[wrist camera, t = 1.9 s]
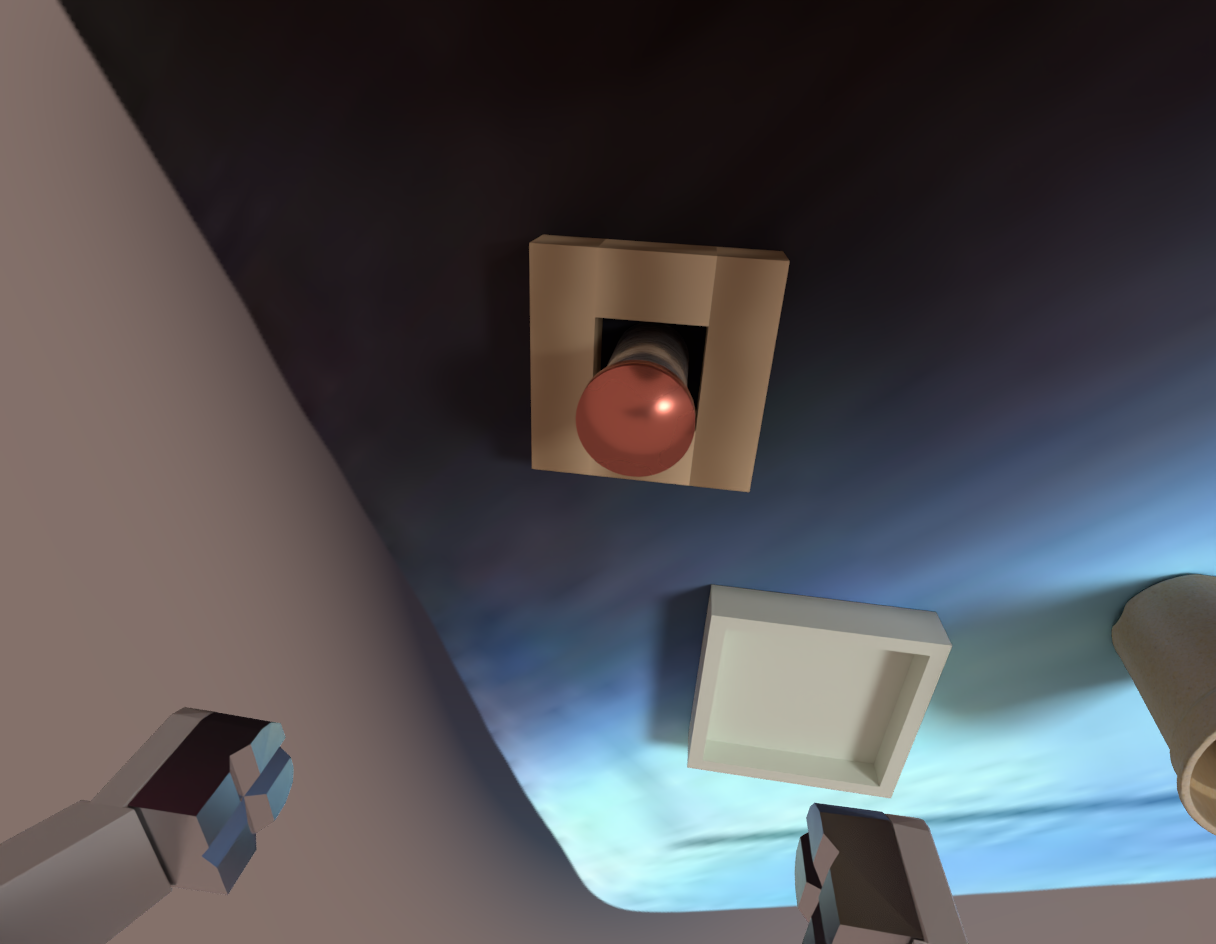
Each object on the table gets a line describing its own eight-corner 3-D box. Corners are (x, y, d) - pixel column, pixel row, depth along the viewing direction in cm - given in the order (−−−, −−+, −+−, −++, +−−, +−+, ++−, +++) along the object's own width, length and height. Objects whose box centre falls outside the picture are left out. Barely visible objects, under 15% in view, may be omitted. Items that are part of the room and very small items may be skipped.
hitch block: (782, 251, 26) (789, 261, 24) (746, 467, 31) (749, 492, 28) (543, 234, 27) (529, 242, 25) (543, 446, 32) (531, 468, 29)
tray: (936, 611, 33) (952, 645, 31) (880, 760, 38) (890, 798, 36) (711, 584, 34) (711, 615, 32) (688, 732, 40) (687, 767, 37)
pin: (703, 316, 28) (701, 372, 21) (692, 405, 30) (688, 482, 23) (607, 308, 28) (576, 360, 21) (603, 397, 30) (574, 470, 23)
